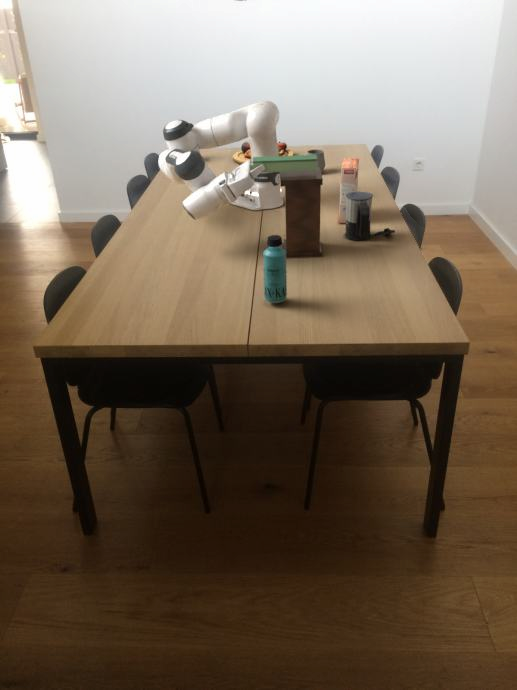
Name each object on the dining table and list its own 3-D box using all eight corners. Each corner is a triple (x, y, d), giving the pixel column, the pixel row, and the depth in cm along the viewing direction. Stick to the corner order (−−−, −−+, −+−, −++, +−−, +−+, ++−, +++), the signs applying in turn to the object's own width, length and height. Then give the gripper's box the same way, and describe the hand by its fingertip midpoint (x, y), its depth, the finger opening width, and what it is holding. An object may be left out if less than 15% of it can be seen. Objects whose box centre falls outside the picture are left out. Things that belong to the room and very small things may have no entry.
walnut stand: (282, 258, 191) (280, 180, 177) (281, 243, 202) (279, 168, 188) (322, 257, 191) (323, 178, 177) (319, 242, 202) (320, 167, 188)
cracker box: (354, 224, 215) (357, 167, 203) (338, 223, 216) (340, 167, 205) (356, 211, 226) (359, 157, 215) (341, 211, 227) (343, 157, 216)
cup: (328, 171, 275) (329, 150, 269) (319, 176, 268) (319, 154, 263) (311, 169, 279) (311, 148, 274) (301, 174, 273) (301, 152, 267)
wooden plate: (274, 170, 281) (273, 152, 277) (220, 163, 296) (219, 146, 292) (305, 154, 304) (305, 138, 299) (253, 148, 318) (253, 133, 314)
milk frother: (339, 234, 207) (340, 193, 199) (376, 226, 212) (379, 186, 204) (360, 247, 196) (363, 205, 188) (399, 239, 201) (403, 197, 193)
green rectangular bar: (253, 172, 181) (252, 161, 179) (253, 168, 184) (253, 157, 182) (317, 170, 180) (317, 158, 178) (316, 166, 183) (316, 154, 181)
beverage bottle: (263, 298, 168) (260, 233, 157) (286, 296, 168) (284, 231, 157) (265, 308, 162) (262, 242, 151) (289, 307, 162) (288, 240, 152)
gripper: (235, 185, 195) (269, 163, 191) (231, 205, 178) (269, 181, 174) (224, 169, 193) (259, 146, 189) (220, 187, 175) (258, 163, 171)
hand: (264, 163), depth 181 cm, fingers closed on green rectangular bar, 4 cm apart
